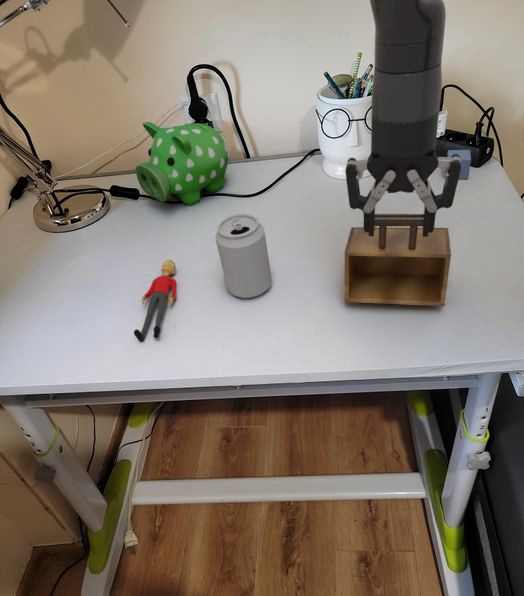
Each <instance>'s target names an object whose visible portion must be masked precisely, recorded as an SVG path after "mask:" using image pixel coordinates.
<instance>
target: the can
mask: <svg viewBox="0 0 524 596" xmlns="http://www.w3.org/2000/svg"><path fill="white" fill-rule="evenodd" d="M216 228H217V231H216V233H215V235H214V237H215V243H216V248H217V252H218V255H219V260H220V264H221V268H222V272H223V273H222V274H223V276H224V281H225V285H226V289H227V291H228V292H229V293H230V294H231V295H233V296H235V297H238V298H241V299H253V298H257V297H259V296H261V295H262V294H264V293H265V292H266V291H268V289H269V288H270V287H271V286H272V283H273V277H272V271H271V264H270V258H269V251H268V245H267V239H266V238H267V237H266V233H265V227H264V225H262V224H261V222H259V219H258V217H256V216H255V215H253V214H250V213H236V214H231V215H229V216H226V217H225V218H223V219H222V220H220V221H219V223H218V225H217V227H216Z"/></svg>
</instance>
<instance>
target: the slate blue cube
mask: <svg viewBox="0 0 524 596" xmlns="http://www.w3.org/2000/svg"><path fill="white" fill-rule="evenodd" d="M453 154H458V155H459V156H460V160H461V170H460V175H459V179H458V180H468V179H469V174H470V169H471V163H472V155H471V149H450V150H449V149H448V150H447V155H446V157H451V156H452V155H453Z"/></svg>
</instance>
